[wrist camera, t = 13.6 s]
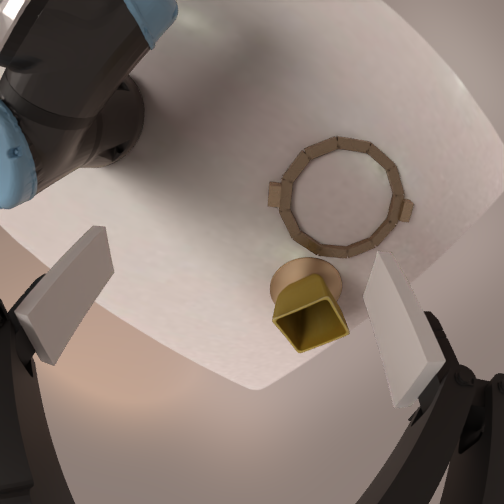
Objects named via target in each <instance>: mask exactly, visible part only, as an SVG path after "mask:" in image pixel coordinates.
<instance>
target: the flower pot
mask: <svg viewBox="0 0 504 504" xmlns="http://www.w3.org/2000/svg"><path fill="white" fill-rule="evenodd" d="M272 322H273V323H274V324H275V325H276V327H277V328H278V329H279V330H280V331H281V332H282V334H283V335H284V336H285V337H286V338H287V340H288V341H289V342H290V343H291V345H292V346H293V347H294V349H295V350H296V351H297V352H298V353H303V352H306V351H308V350H311V349H313V348H316V347H319V346H321V345H324V344H326V343H329V342H332V341H334V340H337V339H339V338H342V337H344V336H346V335H348V334H350V331H349V329H348V326H347V324H346V321H345V318H344V316H343V313H342V311H341V309H340V307H339V305H338V304H337V302H336V300H335V299H334V297H333V295H332V294H331V292H330V290H329V288H328V286H327V285H326V283H325V281H324V279H323V278H322V277H321V276H320V275H318V274H311V275H309V276H307V277H305V278H302V279H300V280H298V281H296V282H294V283H291V284H289V285H288V286H286V287H285V288H284V289H283V290H282V291H281V292H280V293H279V295H278V297H277V300H276V304H275V309H274V314H273V319H272Z"/></svg>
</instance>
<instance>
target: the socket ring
mask: <svg viewBox="0 0 504 504" xmlns="http://www.w3.org/2000/svg"><path fill="white" fill-rule="evenodd" d="M336 149H345V150H352V151H358V152H364V153H367V154H369V155H370V156H371V157H372V158H373V159H374V160H376V161H377V162H378V163H379V164H380V165H381V166H382V167H384V168H385V170H386V173H387V176H388V179H389V183H390V186H391V189H392V193H393V195H392V199H391V203H390V208H389V212H388V216H387V219H386V220H385V221H384V222H383V223H382V224H381V225H380V227H379V228H378V229H377V230H376V231H375V232H374V233H373V234H372V235H371V236H370V237H369V238H367V239H364V240H362V241H359V242H356V243H354V244H351V245H349V246H335V245H325V244H320V243H319V242H317V241H316V240H314V239H313V238H311V237H310V236H308V235H307V234H305V233H304V232H302V231H301V230H300V229H299V226H298V224H297V222H296V220H295V218H294V216H293V214H292V212H291V209H290V203H291V195H292V186H293V182H294V181H295V179H296V178H297V177H298V175H299V174H300V173H301V172H302V170H303V169H304V168H305V166H306V165H307V164H308V163H309V161H310V160H311V159H314V158H316V157H318V156H321V155H323V154H326V153H328V152H331V151H333V150H336ZM304 150H305V152H304V151H301V152H300V153H299V155H298V156H297V157H296V159H295V160H294V161H293V163H292V164H291V165H290V167H289V168H288V169H287V171H286V172H285V173H284V175H283V178H282V181H281V183H276V182H270V184H269V196H268V206H270V207H279V213H280V215H281V217H282V219H283V221H284V223H285V225H286V227H287V229H288V231H289V233H290V236H291V238H293V240H294V241H296V242H297V243H299V244H300V245H302V246H303V247H305V248H306V249H308V250H310V251H311V252H313V253H314V254H316V255H317V254H318V255H319V256H326V257H337V258H347V255H348V258H350V257H353V256H355V255H358V254H360V253H363V252H366V251H368V250H371V249H373V248H375V246H378V245H379V244H380V243H381V242H382V241H383V239H384V238H385V237H386V236H387V235H388V234H389V233H390V232H391V231H392V230H393V229H394V227H395V226H396V225H395V224H397V222H398V220H399V221H402V222H409V220H410V216H411V213H412V209H413V205H414V204H413V203H412V202H411V201H410V200H407V199H404V195H403V194H404V191H403V187H402V184H401V180H400V177H399V173H398V170H397V166H396V165H395V164H394V163H393V162H392V161H391V160H390V159H389V158H388V157H387V156H386V155H385V154H384V153H382V152H381V151H380V150H379V149H378V148H377V147H376V146H374V145H373V144H372V143H371V142H369V141H364V140H358V139H352V138H346V137H339V136H337V138H336V137H335V136H334V137H332V138H329V139H327V140H324V141H322V142H319V143H317V144H314V145H312V146H309V147H307V148H304Z"/></svg>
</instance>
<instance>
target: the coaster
mask: <svg viewBox="0 0 504 504" xmlns="http://www.w3.org/2000/svg"><path fill="white" fill-rule="evenodd" d="M311 274H318V275H320V276H321V277H322V278H323V279H324V281H325V283H326V285H327V286H328V288H329V290H330V292H331V294H332V295H333V297H334V299H335V300H336V302H337V300H338V299H339V297H340V294H341V291H342V281H341V278H340V275H339V273H338V271H337V270H336V269H335V267H334V266H332V265H331V264H330V263H328V262H326V261H324V260H322V259H318V258H312V257H305V258H298V259H295V260H292V261H290V262H287V263H286V264H284V265H283V266H281V267H280V268H279V269H278V270H277V271H276V273H275V274H274V276H273V277H272V280H271V284H270V294H271V298H272V300H273V302H274V303H275V304H276V300H277V297H278V295H279V293H280V292H281V291H282V290H283V289H284V288H285V287H286V286H288V285H289V284H291V283H294V282H296V281H298V280H300V279H302V278H305V277H307V276H309V275H311Z"/></svg>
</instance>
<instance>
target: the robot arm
mask: <svg viewBox="0 0 504 504" xmlns="http://www.w3.org/2000/svg"><path fill="white" fill-rule="evenodd" d="M177 15H178V5H177V2H176V1H175V0H0V66H2V67H5V68H6V69H5V71H4V73H3V75H2V78H1V80H0V209H3V208H4V209H11V208H14V207H16V206H18V205H20V204H22V203H24V202H26V201H29V200H31V199H32V198H34V196H35V195H36V194H38V193H39V192H41V191H42V190H44V189H45V188H47V187H49V186H50V185H52V184H53V183H55V182H56V181H58V180H60V179H61V178H63V177H65V176H66V175H68V174H70V173H71V172H73V171H75V170H76V169H78V168H99V167H104V166H107V165H110V164H112V163H114V162H116V161H117V160H119V159H121V158H122V157H124V156H125V155H126V154H127V153H128V152H129V151H130V150H131V149H132V148H133V147H134V145H135V144H136V142H137V140H138V138H139V136H140V134H141V131H142V127H143V122H144V104H143V100H142V96H141V93H140V91H139V89H138V87H137V85H136V84H135V83H134V81H133V80H132V79H131V78H130V77H129V76H128V74H129V73H130V72H131V71H132V70H133V68H134V67H135V66H136V65H137V64H138V63H139V61H140V60H141V59H142V58H143V57H144V56H145V55H146V53H147V52H148V51H149V50H150V49H151V50H152V49H153V48H154V47H155V43H156V42H157V40H158V39H159V38H160V37H161V36H162V35H163V33H164V32H165V31H166V30H167V29H168V28H169V27H170V26H171V25H172V23H173V22H174V21H175V20H176V18H177ZM113 274H114V268H113V264H112V259H111V254H110V249H109V244H108V239H107V233H106V227H105V226H92V227H91V228H90V229H89V230H88V231H87V232H86V233H85V234H84V235H83V236H82V237H81V238H80V239H79V240H78V241H77V242H76V243H75V244H74V245H73V246H72V247H71V248H70V249H69V250H68V251H67V252H66V253H65V254H64V255H63V256H62V257H61V258H60V259H59V260H58V262H57V263H56V264H55V265H54V266H53V267H52V268H51V269H50V270H49V271H48V272H47V273H46V274H43V275H42V276H40V277H39V278H37V279H36V280H35V281H34V282H33V283H32V284H31V286H30V288H28V289H27V290H26V291H25V294H23V295H22V296H21V297H20V298H19V299H18V301H17V302H16V303H15V304H14V306H13V307H12V308H11V309H10V310H9V312H8V313H7V311H6V309H5V307H4V304H3V302H2V300H1V299H0V504H75V502H74V500H73V498H72V495H71V493H70V491H69V488H68V486H67V483H66V480H65V478H64V475H63V473H62V470H61V467H60V464H59V461H58V458H57V455H56V452H55V449H54V446H53V443H52V439H51V436H50V432H49V428H48V425H47V421H46V417H45V413H44V408H43V404H42V399H41V394H40V389H39V384H38V379H37V373H36V367H35V362H34V359H33V358H32V356H33V355H34V353H35V352H36V353H37V355H38V357H39V358H40V360H41V361H42V362H45V363H48V364H51V365H53V366H54V365H55V364H56V362H57V360H58V359H59V357H60V355H61V354H62V352H63V350H64V349H65V347H66V345H67V343H68V342H69V340H70V338H71V337H72V335H73V334H74V332H75V331H76V329H77V327H78V326H79V324H80V322H81V321H82V319H83V318H84V316H85V315H86V313H87V311H88V310H89V309H90V307H91V306H92V304H93V303H94V301H95V300H96V298H97V297H98V295H99V294H100V292H101V291H102V289H103V288H104V286H105V285H106V284H107V282H108V281H109V279H110V278H111V276H112V275H113ZM363 299H364V302H365V305H366V308H367V312H368V315H369V318H370V321H371V324H372V328H373V331H374V335H375V338H376V341H377V344H378V348H379V352H380V355H381V359H382V363H383V366H384V370H385V374H386V377H387V381H388V385H389V390H390V393H391V398H392V402H393V406H394V408H400V407H410V406H412V405H413V403H414V402H415V401H416V400H417V399H419V402H420V407H419V408H418V409H417V410H416V411H415V412H414V414H413V415H412V416H411V417H410V418H409V419H408V420H409V421H411V422H410V424H409V425H408V427H407V429H406V430H405V432H404V434H403V436H402V437H401V439H400V441H399V442H398V444H397V446H396V447H395V449H394V450H393V452H392V454H391V455H390V457H389V458H388V460H387V461H386V463H385V464H384V466H383V467H382V469H381V470H380V472H379V473H378V474H377V476H376V477H375V479H374V480H373V482H372V483H371V484H370V486H369V487H368V488H367V490H366V491H365V492H364V494H363V495H362V496H361V498H360V499H359V500H358V501H357V503H356V504H429V502H430V500H431V498H432V496H433V495H434V493H435V491H436V489H437V487H438V485H439V483H440V481H441V479H442V477H443V475H444V473H445V471H446V469H447V466H448V464H449V462H450V464H449V468H448V473H447V477H446V482H445V486H444V490H443V493H442V497H441V501H440V504H504V374H502V373H498V374H496V375H495V376H494V377H493V378H492V379H491V381H485V380H480V379H476V377H475V375H474V373H473V372H472V370H470V369H469V368H468V367H466V366H463V365H459V363H458V361H457V358H456V356H455V354H454V351H453V349H452V347H451V345H450V343H449V341H448V339H447V338H446V334H445V333H444V331H443V328H442V326H441V324H440V323H439V320H438V319H437V318H436V317H435V316H434V315H433V314H432V313H431V312H429V311H428V312H427V311H426V312H425V311H423V310H422V308H421V306H420V304H419V302H418V300H417V298H416V296H415V294H414V292H413V290H412V288H411V286H410V284H409V282H408V281H407V279H406V277H405V275H404V273H403V271H402V270H401V268H400V266H399V264H398V262H397V261H396V259H395V257H394V255H393V254H392V252H384V251H377V255H376V258H375V261H374V264H373V267H372V270H371V274H370V277H369V280H368V283H367V286H366V289H365V292H364V294H363Z"/></svg>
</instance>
